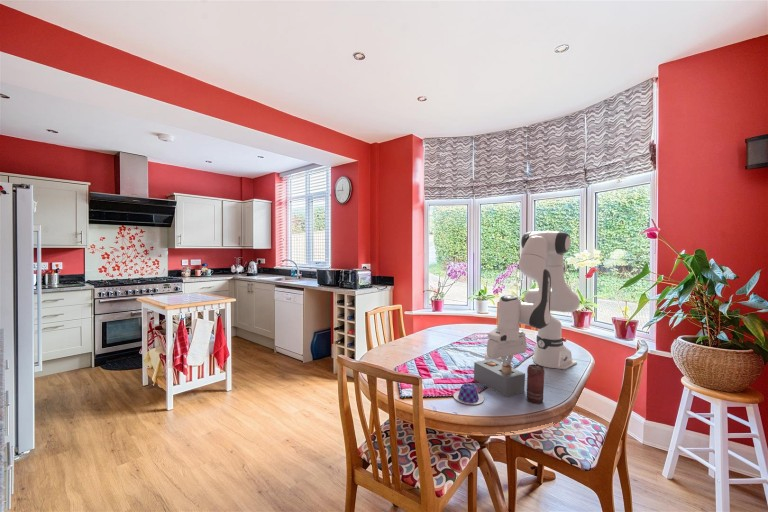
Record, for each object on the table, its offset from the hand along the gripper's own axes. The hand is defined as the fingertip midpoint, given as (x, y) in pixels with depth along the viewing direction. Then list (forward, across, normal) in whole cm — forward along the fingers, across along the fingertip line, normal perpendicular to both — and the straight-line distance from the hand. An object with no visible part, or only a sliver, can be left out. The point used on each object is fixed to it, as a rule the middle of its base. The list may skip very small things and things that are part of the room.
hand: (506, 365), depth 142 cm
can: (+11, -3, +12) cm, 17 cm away
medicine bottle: (+11, -11, -19) cm, 25 cm away
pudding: (+11, +20, -1) cm, 23 cm away
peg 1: (+10, 0, -9) cm, 14 cm away
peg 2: (+8, 0, 0) cm, 8 cm away
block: (+11, 0, -5) cm, 12 cm away
